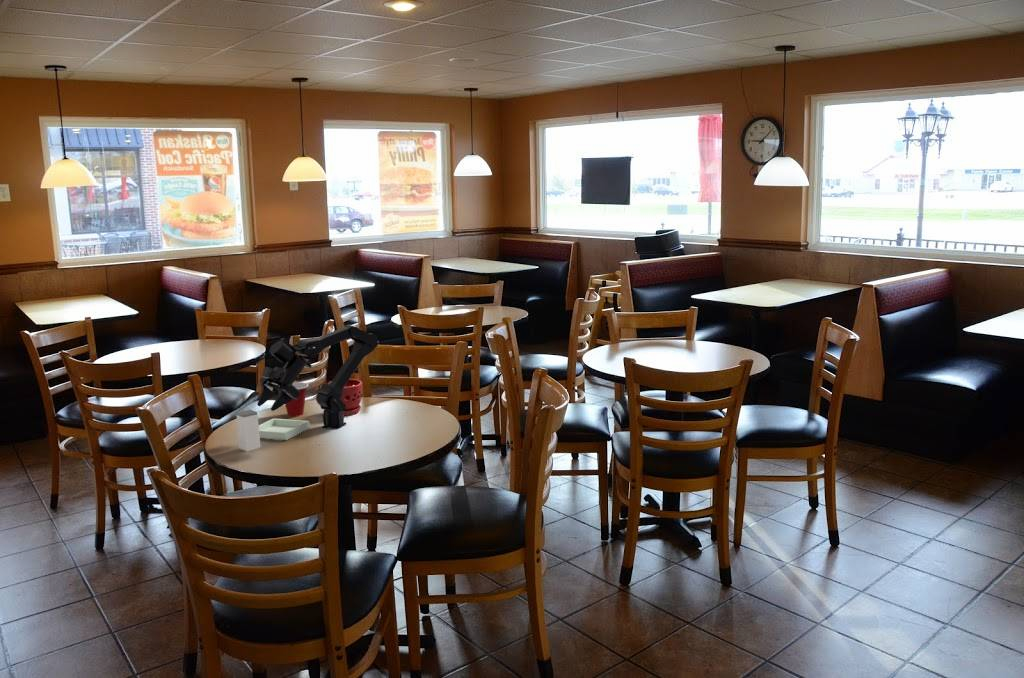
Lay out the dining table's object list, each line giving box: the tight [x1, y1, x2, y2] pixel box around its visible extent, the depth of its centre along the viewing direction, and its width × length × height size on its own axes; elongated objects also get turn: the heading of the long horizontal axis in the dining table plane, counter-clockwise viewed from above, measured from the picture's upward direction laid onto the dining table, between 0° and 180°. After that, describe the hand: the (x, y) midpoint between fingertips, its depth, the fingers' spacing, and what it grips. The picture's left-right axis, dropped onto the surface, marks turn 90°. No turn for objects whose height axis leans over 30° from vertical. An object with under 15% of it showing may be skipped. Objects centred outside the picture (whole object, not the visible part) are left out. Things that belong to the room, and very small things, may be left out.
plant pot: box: [327, 378, 363, 416], centre depth 319 cm, size 13×13×12 cm
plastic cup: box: [284, 381, 309, 417], centre depth 319 cm, size 11×11×12 cm
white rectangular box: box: [236, 409, 261, 452], centre depth 278 cm, size 5×5×12 cm
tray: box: [259, 418, 311, 441], centre depth 296 cm, size 15×15×3 cm
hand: (265, 408), depth 282 cm, fingers open, 9 cm apart
